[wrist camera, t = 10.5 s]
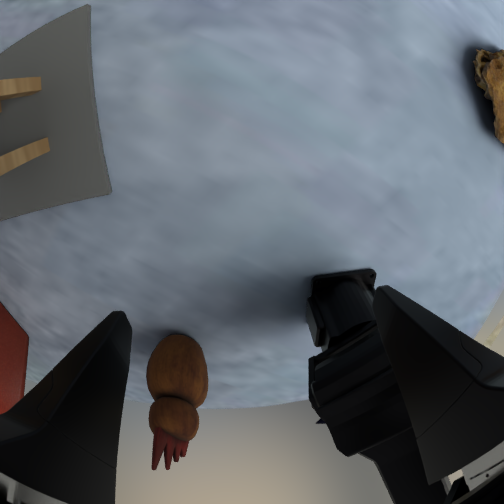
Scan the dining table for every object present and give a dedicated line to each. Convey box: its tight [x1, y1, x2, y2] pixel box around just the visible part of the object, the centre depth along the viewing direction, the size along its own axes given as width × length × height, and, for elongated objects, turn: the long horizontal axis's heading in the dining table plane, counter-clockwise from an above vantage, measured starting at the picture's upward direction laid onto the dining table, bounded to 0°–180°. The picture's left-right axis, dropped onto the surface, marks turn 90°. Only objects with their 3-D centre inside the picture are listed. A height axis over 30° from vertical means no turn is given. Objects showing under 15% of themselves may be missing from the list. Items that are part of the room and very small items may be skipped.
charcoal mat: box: [0, 4, 112, 221], centre depth 15 cm, size 16×16×1 cm
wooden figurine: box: [146, 335, 208, 470], centre depth 23 cm, size 7×6×15 cm
